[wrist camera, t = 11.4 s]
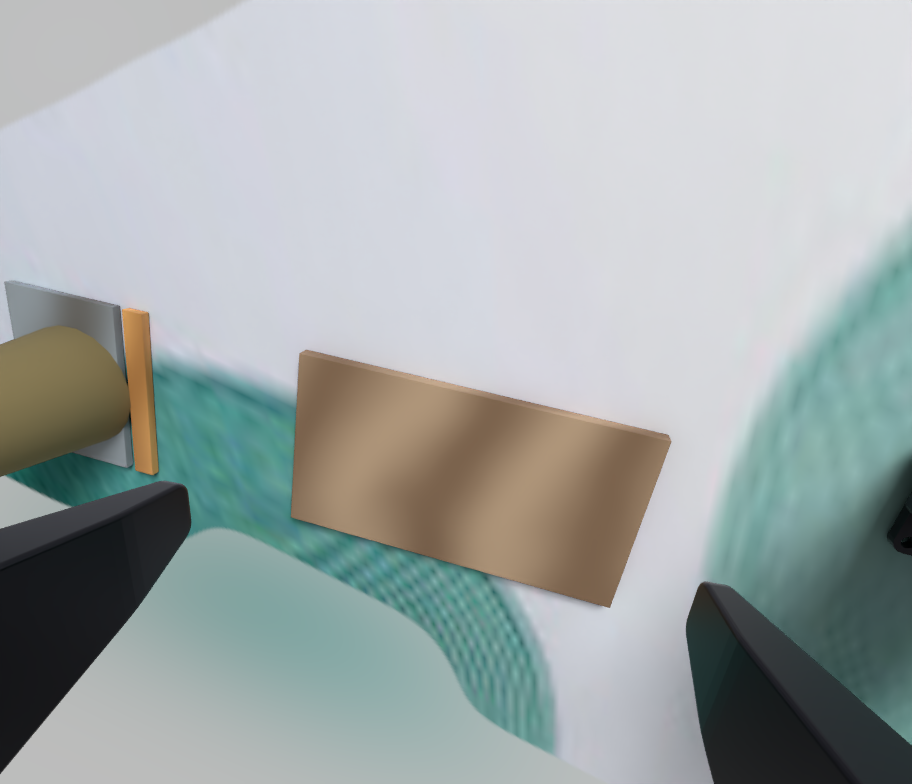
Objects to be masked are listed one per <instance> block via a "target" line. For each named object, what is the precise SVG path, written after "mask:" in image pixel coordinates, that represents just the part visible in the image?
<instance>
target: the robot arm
mask: <svg viewBox="0 0 912 784" xmlns="http://www.w3.org/2000/svg"><path fill="white" fill-rule="evenodd" d="M190 528H191V514H190V505H189V497H188V490H187V488H186V487H185V486H184V485H183V484H180V483H174V482H169V481H159V482H155V483H152V484H149V485H145V486H142V487H139V488H135V489H132V490H129V491H125V492H122V493H119V494H115V495H112V496H108V497H105V498H102V499H98V500H95V501H92V502H88V503H85V504H82V505H78V506H75V507H72V508H68V509H65V510H62V511H58V512H55V513H52V514H48V515H45V516H42V517H38V518H35V519H32V520H28V521H25V522H22V523H18V524H15V525H11V526H9V527H5V528H1V529H0V774H1V772H2V771H3V770H4V769H5V768H6V767H7V765H8V764H9V763H10V762H11V760H12V759H13V758H14V757H15V756H16V755H17V753H18V752H19V751H20V750H21V748H22V747H23V746H24V745H25V744H26V742H27V741H28V740H29V739H30V738H31V736H32V735H33V734H34V733H35V732H36V730H37V729H38V728H39V727H40V725H41V724H42V723H43V722H44V721H45V719H46V718H47V717H48V716H49V715H50V714H51V712H52V711H53V710H54V709H55V707H56V706H57V705H58V704H59V703H60V701H61V700H62V699H63V698H64V697H65V695H66V694H67V693H68V692H69V691H70V689H71V688H72V687H73V686H74V685H75V683H76V682H77V681H78V679H79V678H80V677H81V676H82V675H83V674H84V672H85V671H86V670H87V669H88V668H89V666H90V665H91V664H92V663H93V662H94V660H95V659H96V658H97V657H98V656H99V654H100V653H101V652H102V651H103V650H104V648H105V647H106V646H107V645H108V644H109V642H110V641H111V640H112V639H113V637H114V636H115V635H116V634H117V633H118V631H119V630H120V629H121V628H122V627H123V625H124V624H125V623H126V622H127V621H128V619H129V618H130V617H131V616H132V614H133V613H134V612H135V610H136V609H137V608H138V607H139V605H140V604H141V602H142V601H143V600H144V598H145V597H146V596H147V594H148V593H149V591H150V590H151V588H152V587H153V585H154V584H155V582H156V581H157V579H158V578H159V577H160V575H161V574H162V572H163V570H164V569H165V568H166V566H167V565H168V563H169V562H170V561H171V559H172V557H173V556H174V555H175V553H176V551H177V550H178V549H179V547H180V546H181V544H182V543H183V542H184V540H185V539H186V537H187V535H188V533H189V531H190ZM906 537H910V538H909V539H908V540H907V541H904V542H901V541H902V540H903V539H904V538H906ZM887 539H888V542H889V543H890V544H891V545H892V546H893V547H894V548H895V549H896V550H897V551H898V552H901V553H903V554H907V555H911V556H912V493H911V495H910V496H909V498H908V500H907V501H906V504H905V506H904V507H903V509H902V511H901V512H900V514H899V516H898V517H897V519H896V521H895V522H894V524H893V526H892V527H891V529H890V531H889V532H888V535H887ZM686 638H687V644H688V651H689V658H690V664H691V671H692V678H693V684H694V691H695V698H696V704H697V711H698V717H699V723H700V729H701V734H702V738H703V743H704V747H705V751H706V755H707V759H708V763H709V767H710V770H711V774H712V778H713V782H714V784H912V745H910V744H909V743H908V742H907V741H906V740H905V739H904V738H902V737H901V736H900V735H899V734H898V733H897V732H896V731H895V730H893V729H892V728H891V727H890V726H889V725H888V724H887V723H885V722H884V721H883V720H882V719H881V718H880V717H879V716H877V715H876V714H875V713H874V712H873V711H872V710H871V709H869V708H868V707H867V706H866V705H865V704H864V703H863V702H861V701H860V700H859V699H858V698H857V697H856V696H855V695H854V694H852V693H851V692H850V691H849V690H848V689H847V688H846V687H844V686H843V685H842V684H841V683H840V682H839V681H838V680H836V679H835V678H834V677H833V676H832V675H831V674H830V673H828V672H827V671H826V670H825V669H824V668H823V667H822V666H820V665H819V664H818V663H817V662H816V661H815V660H814V659H812V658H811V657H810V656H809V655H808V654H807V653H806V652H805V651H803V650H802V649H801V648H800V647H799V646H798V645H797V644H795V643H794V642H793V641H792V640H791V639H790V638H789V637H787V636H786V635H785V634H784V633H783V632H782V631H781V630H779V629H778V628H777V627H776V626H775V625H774V624H773V623H771V622H770V621H769V620H768V619H767V618H766V617H765V616H764V615H762V614H761V613H760V612H759V611H758V610H757V609H756V608H754V607H753V606H752V605H751V604H750V603H749V602H748V601H746V600H745V599H744V598H743V597H742V596H741V595H740V594H738V593H737V592H736V591H735V590H734V589H733V588H731V587H730V586H727V585H723V584H717V583H712V582H703V583H701V584H700V585H699V587H698V589H697V592H696V595H695V598H694V601H693V604H692V607H691V610H690V612H689V615H688V618H687V623H686Z"/></svg>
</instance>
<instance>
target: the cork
mask: <svg viewBox="0 0 912 784" xmlns="http://www.w3.org/2000/svg"><path fill="white" fill-rule="evenodd" d="M130 408H131V403H130V395H129V388H128V385H127V383H126V380H125V378H124V375H123V373H122V370H121V369H120V367H119V366H118V364H117V363H116V361H115V360H114V359H113V357H112V356H111V354H110V353H109V352H108V351H107V350H106V349H105V348H104V347H103V346H102V345H101V344H99V343H98V342H97V341H96V340H95V339H94V338H92V337H91V336H89V335H87V334H85V333H83V332H81V331H79V330H78V329H75V328H70V327H65V326H60V325H57V326H51V327H46V328H42V329H39V330H37V331H34V332H32V333H29V334H27V335H24V336H21V337H19V338H16V339H14V340H11V341H8V342H6V343H3V344H1V345H0V477H1V476H4V475H7V474H10V473H13V472H15V471H18V470H21V469H24V468H27V467H30V466H33V465H36V464H39V463H42V462H45V461H47V460H50V459H53V458H56V457H59V456H62V455H65V454H68V453H71V452H74V451H77V450H79V449H82V448H85V447H88V446H91V445H94V444H97V443H100V442H103V441H106V440H108V439H110V438H112V437H114V436H115V435H117V434H119V433H120V432H121V431H122V429H123V428H124V426H125V425H126V423H127V422H128V418H129V413H130Z"/></svg>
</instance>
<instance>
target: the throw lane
mask: <svg viewBox="0 0 912 784" xmlns="http://www.w3.org/2000/svg"><path fill="white" fill-rule="evenodd" d="M4 283H5V289H6V295H7V301H8V307H9V313H10V319H11V325H12V330H13V336H14V339H16V338H19V337H21V336H24V335H27V334H29V333H32V332H34V331H37V330H39V329H42V328H46V327H51V326H57V325H60V326H65V327H70V328H75V329H78V330H79V331H81V332H83V333H85V334H87V335H89V336H91V337H92V338H94V339H95V340H96V341H97V342H98V343H99V344H101V345H102V346H103V347H104V348H105V349H106V350H107V351H108V352H109V353H110V354H111V356H112V357H113V359H114V360H115V361H116V363H117V364H118V366H119V367H120V369H121V370H122V373H123V375H124V378H125V380H126V375H125V363H124V351H123V340H122V328H121V316H120V306H118V305H114V304H110V303H106V302H101V301H97V300H93V299H89V298H84V297H80V296H76V295H72V294H67V293H63V292H59V291H55V290H50V289H46V288H42V287H38V286H33V285H29V284H25V283H21V282H16V281H7V282H4ZM122 315H123V327H124V339H125V351H126V363H127V375H128V387H129V395H130V403H131V408H130V410H131V422H132V434H133V446H134V458H135V470H136V471H140V472H143V473H147V474H150V475H154V474H155V473H157V472H158V455H157V440H156V424H155V408H154V393H153V377H152V362H151V346H150V330H149V315H148V312H144V311H140V310H135V309H131V308H127V309H123V310H122ZM670 444H671V440H670V437H669V435H666V434H662V433H657V432H653V431H649V430H645V429H640V428H636V427H632V426H628V425H623V424H619V423H615V422H611V421H606V420H602V419H598V418H594V417H589V416H585V415H581V414H577V413H573V412H568V411H564V410H560V409H556V408H551V407H547V406H543V405H539V404H534V403H530V402H526V401H522V400H517V399H513V398H509V397H505V396H500V395H496V394H492V393H488V392H483V391H479V390H475V389H471V388H466V387H462V386H458V385H454V384H449V383H445V382H441V381H437V380H432V379H428V378H424V377H420V376H415V375H411V374H407V373H403V372H398V371H394V370H390V369H386V368H381V367H377V366H373V365H369V364H365V363H360V362H356V361H352V360H348V359H343V358H339V357H335V356H331V355H326V354H322V353H318V352H314V351H309V350H305V351H303V352H301V353H300V354H299V373H298V392H297V411H296V430H295V449H294V468H293V487H292V506H291V517H292V518H295V519H299V520H302V521H306V522H309V523H313V524H316V525H320V526H323V527H327V528H330V529H334V530H337V531H341V532H344V533H348V534H351V535H355V536H359V537H362V538H366V539H369V540H373V541H376V542H380V543H383V544H387V545H390V546H394V547H397V548H401V549H404V550H408V551H411V552H415V553H418V554H422V555H425V556H429V557H432V558H436V559H439V560H443V561H446V562H450V563H453V564H457V565H461V566H464V567H468V568H471V569H475V570H478V571H482V572H485V573H489V574H492V575H496V576H499V577H503V578H506V579H510V580H513V581H517V582H520V583H524V584H527V585H531V586H534V587H538V588H541V589H545V590H548V591H552V592H555V593H559V594H563V595H566V596H570V597H573V598H577V599H580V600H584V601H587V602H591V603H594V604H598V605H601V606H605V607H608V608H610V606H611V603H612V600H613V598H614V595H615V592H616V590H617V587H618V584H619V582H620V579H621V576H622V573H623V571H624V568H625V565H626V563H627V560H628V557H629V555H630V552H631V549H632V546H633V544H634V541H635V538H636V536H637V533H638V530H639V528H640V525H641V522H642V519H643V517H644V514H645V511H646V509H647V506H648V503H649V501H650V498H651V495H652V493H653V490H654V487H655V484H656V482H657V479H658V476H659V474H660V471H661V468H662V466H663V463H664V460H665V457H666V455H667V452H668V449H669V447H670ZM73 453H76V454H80V455H83V456H87V457H90V458H94V459H97V460H101V461H104V462H108V463H111V464H115V465H118V466H122V467H126V468H128V467H129V466H131V465H133V457H132V445H131V433H130V422H129V418H128V422H127V423H126V425H125V426H124V428H123V429H122V431H121V432H120V433H119V434H117V435H115V436H114V437H112V438H110V439H108V440H106V441H103V442H100V443H97V444H94V445H91V446H88V447H85V448H82V449H79V450H77V451H74V452H73Z"/></svg>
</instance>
